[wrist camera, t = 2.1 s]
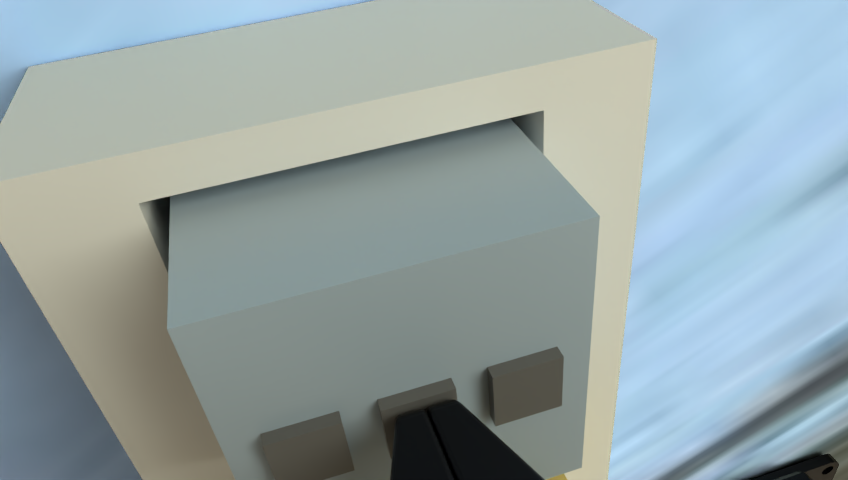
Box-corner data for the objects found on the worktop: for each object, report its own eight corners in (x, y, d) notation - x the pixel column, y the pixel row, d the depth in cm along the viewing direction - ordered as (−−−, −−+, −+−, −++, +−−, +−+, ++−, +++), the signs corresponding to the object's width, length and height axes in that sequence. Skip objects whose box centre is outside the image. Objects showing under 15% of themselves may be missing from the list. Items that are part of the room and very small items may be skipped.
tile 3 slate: (476, 280, 15) (587, 477, 11) (249, 342, 14) (276, 580, 10) (462, 64, 12) (608, 225, 8) (171, 127, 11) (166, 342, 7)
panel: (536, 523, 24) (589, 638, 21) (285, 609, 22) (301, 746, 19) (538, -32, 13) (656, 38, 9) (28, 66, 11) (-32, 187, 8)
